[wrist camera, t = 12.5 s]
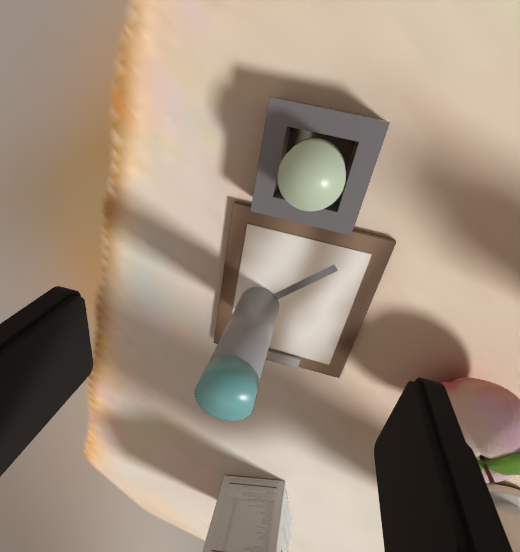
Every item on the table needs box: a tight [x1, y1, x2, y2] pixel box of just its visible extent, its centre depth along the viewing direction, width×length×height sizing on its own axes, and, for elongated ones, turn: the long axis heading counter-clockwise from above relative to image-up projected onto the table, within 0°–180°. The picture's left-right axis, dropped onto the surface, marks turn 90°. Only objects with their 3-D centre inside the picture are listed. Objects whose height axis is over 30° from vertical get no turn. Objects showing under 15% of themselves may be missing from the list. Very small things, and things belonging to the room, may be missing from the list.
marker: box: [195, 287, 279, 421], centre depth 28 cm, size 4×4×12 cm
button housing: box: [251, 97, 390, 235], centre depth 25 cm, size 8×8×3 cm
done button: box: [278, 138, 346, 211], centre depth 23 cm, size 4×4×2 cm
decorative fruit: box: [439, 378, 520, 484], centre depth 29 cm, size 9×8×10 cm
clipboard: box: [214, 201, 396, 378], centre depth 32 cm, size 14×16×1 cm
